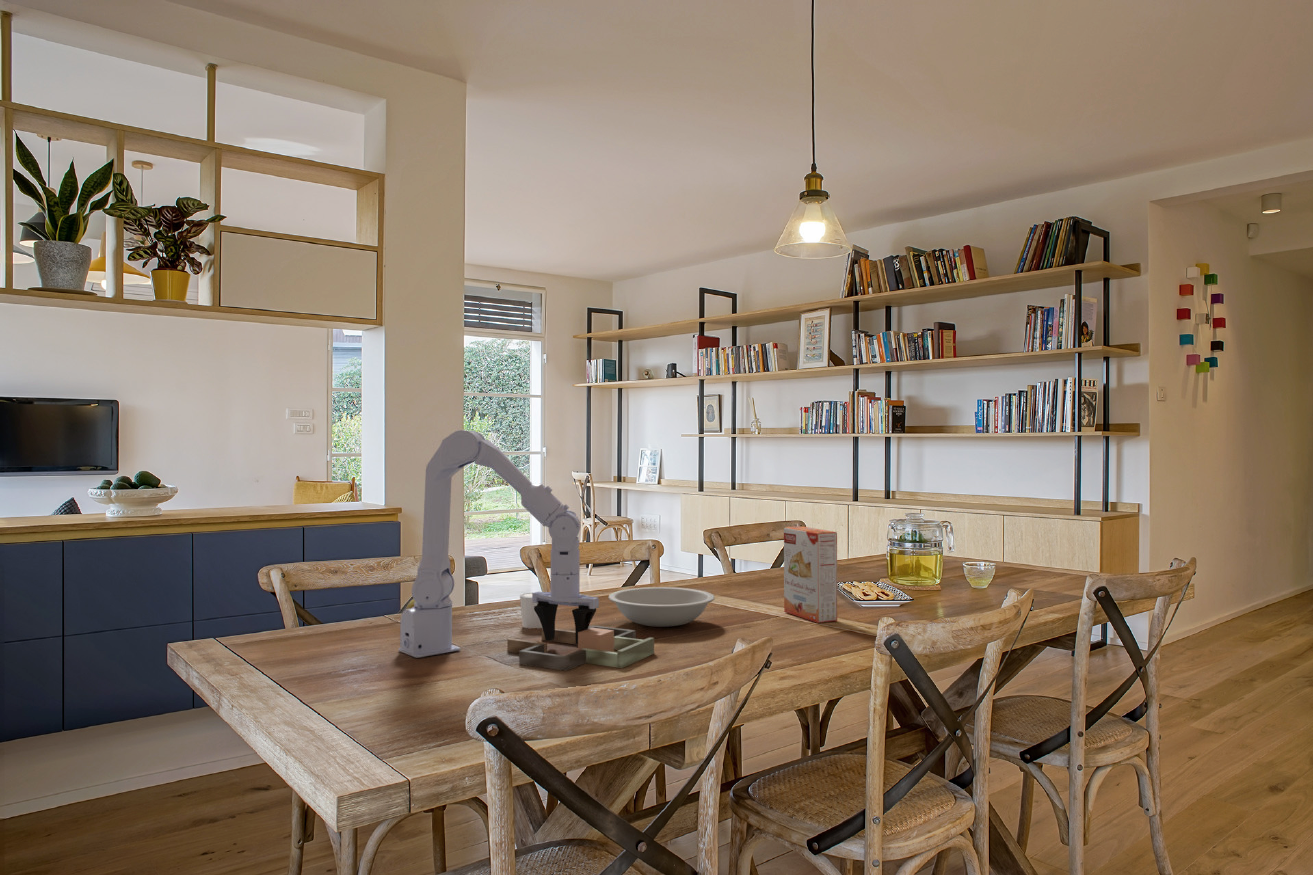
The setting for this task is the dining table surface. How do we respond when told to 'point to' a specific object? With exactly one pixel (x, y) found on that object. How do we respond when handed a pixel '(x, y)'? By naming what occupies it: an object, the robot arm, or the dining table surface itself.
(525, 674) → the dining table surface
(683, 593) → the soup bowl
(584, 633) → the block
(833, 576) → the cracker box
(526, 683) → the dining table surface
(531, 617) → the white cup
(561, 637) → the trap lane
